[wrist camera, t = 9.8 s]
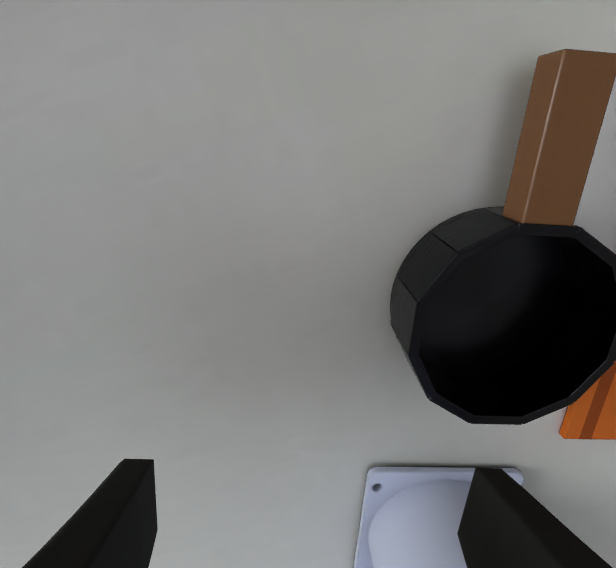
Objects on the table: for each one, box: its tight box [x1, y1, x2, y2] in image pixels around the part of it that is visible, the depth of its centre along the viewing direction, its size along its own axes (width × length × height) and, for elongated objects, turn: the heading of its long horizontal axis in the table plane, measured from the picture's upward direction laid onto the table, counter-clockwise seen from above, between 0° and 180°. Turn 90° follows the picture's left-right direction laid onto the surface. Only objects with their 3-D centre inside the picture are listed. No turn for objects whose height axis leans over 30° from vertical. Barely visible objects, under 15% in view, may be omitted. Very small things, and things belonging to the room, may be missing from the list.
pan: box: [390, 49, 616, 425], centre depth 16 cm, size 13×8×3 cm, turn 176°
